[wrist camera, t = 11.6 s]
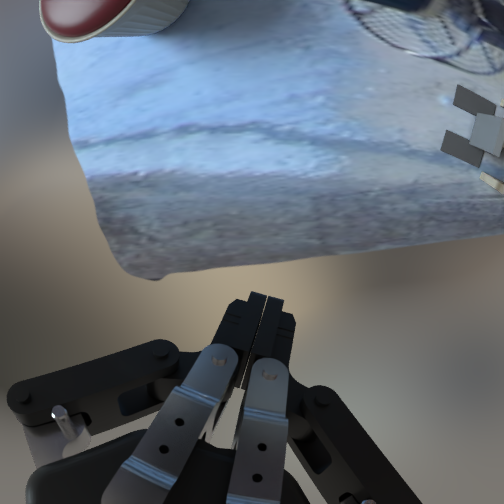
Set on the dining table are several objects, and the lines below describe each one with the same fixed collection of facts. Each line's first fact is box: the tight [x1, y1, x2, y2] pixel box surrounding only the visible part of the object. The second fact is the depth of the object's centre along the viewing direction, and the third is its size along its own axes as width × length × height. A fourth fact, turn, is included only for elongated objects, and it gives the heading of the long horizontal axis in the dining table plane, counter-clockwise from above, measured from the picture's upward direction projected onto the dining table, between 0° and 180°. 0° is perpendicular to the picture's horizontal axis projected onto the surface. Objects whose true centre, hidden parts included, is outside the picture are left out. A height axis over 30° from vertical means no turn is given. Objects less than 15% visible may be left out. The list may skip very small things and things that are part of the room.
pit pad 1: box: [453, 85, 496, 116], centre depth 32 cm, size 3×7×1 cm, turn 79°
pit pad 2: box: [441, 130, 484, 168], centre depth 36 cm, size 3×7×1 cm, turn 79°
